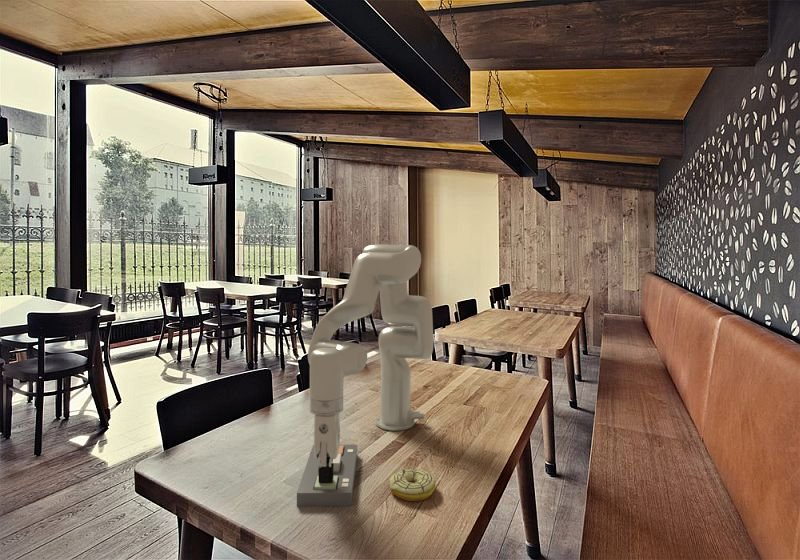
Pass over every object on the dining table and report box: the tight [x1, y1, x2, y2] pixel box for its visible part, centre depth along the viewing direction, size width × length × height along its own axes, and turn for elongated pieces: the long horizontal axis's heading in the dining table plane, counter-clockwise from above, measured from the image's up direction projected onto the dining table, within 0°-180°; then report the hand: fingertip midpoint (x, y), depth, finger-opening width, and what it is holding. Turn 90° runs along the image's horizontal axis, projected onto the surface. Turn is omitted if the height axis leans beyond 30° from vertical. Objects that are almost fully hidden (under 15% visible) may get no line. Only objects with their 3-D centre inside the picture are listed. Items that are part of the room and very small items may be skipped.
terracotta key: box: [338, 444, 345, 456], centre depth 120 cm, size 5×5×3 cm
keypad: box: [296, 444, 358, 507], centre depth 112 cm, size 12×24×3 cm, turn 2°
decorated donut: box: [389, 468, 436, 502], centre depth 107 cm, size 10×11×4 cm
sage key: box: [314, 476, 338, 490], centre depth 104 cm, size 5×5×3 cm
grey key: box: [333, 454, 341, 472], centre depth 112 cm, size 5×5×3 cm
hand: (326, 481), depth 103 cm, fingers closed
